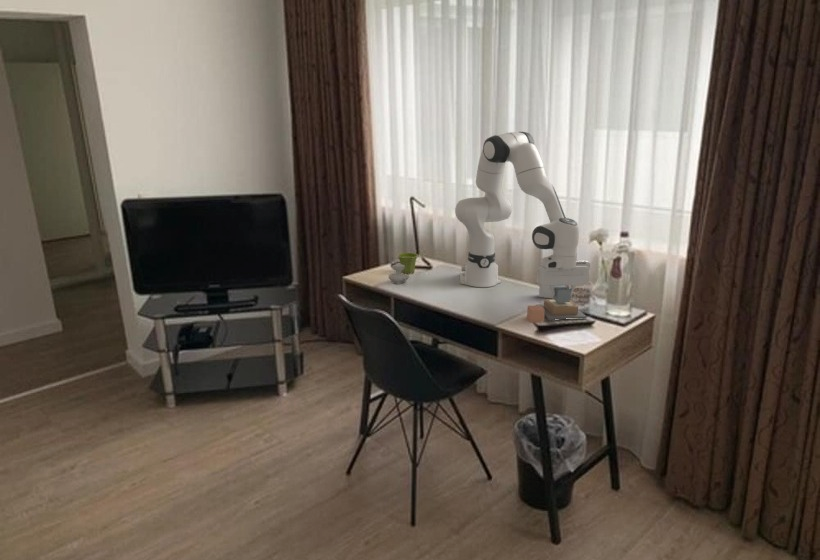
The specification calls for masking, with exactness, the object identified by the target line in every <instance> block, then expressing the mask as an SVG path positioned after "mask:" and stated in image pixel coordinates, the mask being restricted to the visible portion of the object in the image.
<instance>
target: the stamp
mask: <svg viewBox="0 0 820 560" xmlns="http://www.w3.org/2000/svg"><path fill="white" fill-rule="evenodd" d="M391 268H392V270H393V271H395V272H394V273H392V274H391V273H390V274H388V279H389V280H390V282H391V283H394V284H397V285H400V284H403V283H406V282H407V280H408V279H409V278H410V276H409V274H403V273H402V272H401V271H402V270H404V268H405V265H401V264H400V263H396V264H393V265H392V266H391Z"/></svg>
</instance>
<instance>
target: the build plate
mask: <svg viewBox="0 0 820 560" xmlns="http://www.w3.org/2000/svg"><path fill="white" fill-rule="evenodd" d="M537 305H541V306H542V307H543V308H544V309H545V313H544V319H546V320H547V321H548V320H553V321H556V320H555V319H566V318H586V319H587V315H586V314H584V313H583V312H582V311H581V310H580V309H579V306H578V305H577V304H576V303H574V302H573V301H572V300H571V299H570V302H562V303H557V302H556V301H555V300H554V299H552V298H544V300H543V303H541V304H537Z"/></svg>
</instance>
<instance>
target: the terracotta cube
mask: <svg viewBox="0 0 820 560" xmlns="http://www.w3.org/2000/svg"><path fill="white" fill-rule="evenodd" d="M544 313H545V309H544V308H543V307H542V306H541V305H538V304H535V305H531V304H530V305H527V310H526V319H527V320H528V322H530V323H542V322H541V321H545V317H544Z"/></svg>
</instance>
